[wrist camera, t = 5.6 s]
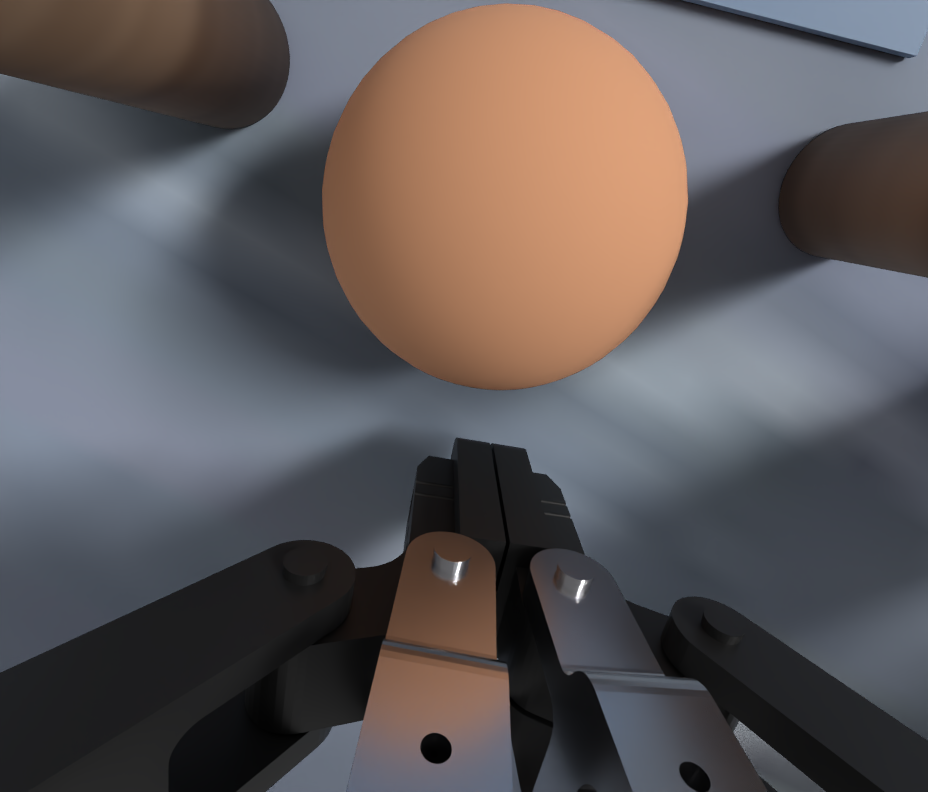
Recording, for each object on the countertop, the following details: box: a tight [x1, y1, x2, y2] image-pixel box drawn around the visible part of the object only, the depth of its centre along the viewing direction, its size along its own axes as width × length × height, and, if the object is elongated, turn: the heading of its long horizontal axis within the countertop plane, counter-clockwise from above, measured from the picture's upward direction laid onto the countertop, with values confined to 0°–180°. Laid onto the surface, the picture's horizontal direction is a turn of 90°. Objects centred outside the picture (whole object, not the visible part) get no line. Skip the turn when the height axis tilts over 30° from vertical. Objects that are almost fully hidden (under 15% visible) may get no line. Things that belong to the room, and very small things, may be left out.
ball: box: [322, 4, 688, 390], centre depth 9 cm, size 6×6×6 cm
